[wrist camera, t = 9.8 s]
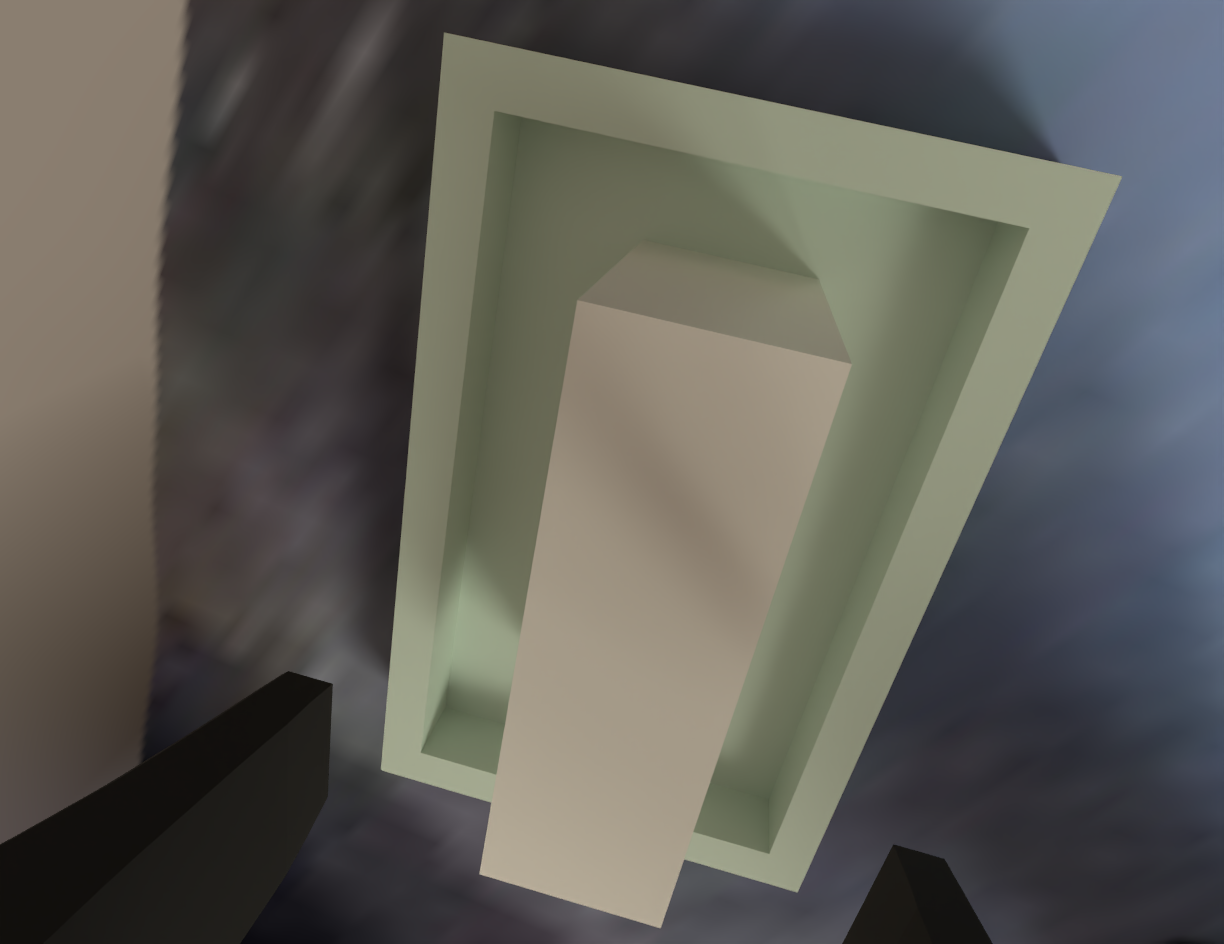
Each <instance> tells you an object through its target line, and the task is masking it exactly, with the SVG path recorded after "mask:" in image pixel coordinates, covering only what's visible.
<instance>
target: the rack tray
mask: <svg viewBox="0 0 1224 944" xmlns="http://www.w3.org/2000/svg"><path fill="white" fill-rule="evenodd" d="M1121 178H1122V176H1118V175H1113V174H1108V173H1103V172H1099V171H1094V170H1089V169H1085V168H1080V167H1075V166H1071V165H1066V164H1061V163H1056V162H1052V161H1047V160H1042V159H1038V158H1033V157H1028V156H1023V155H1019V154H1014V153H1009V152H1005V151H1000V150H995V149H990V148H986V147H981V146H976V145H972V144H967V143H962V142H958V141H953V140H948V139H943V138H939V137H934V136H929V135H925V134H920V133H915V132H910V131H906V130H901V129H896V128H892V127H887V126H882V125H877V124H873V123H868V122H863V121H859V120H854V119H849V118H845V117H840V116H835V115H830V114H826V113H821V112H816V111H812V110H807V109H802V108H797V107H793V106H788V105H783V104H779V103H774V102H769V101H764V100H760V99H755V98H750V97H746V96H741V95H736V94H732V93H727V92H722V91H717V90H713V89H708V88H703V87H699V86H694V85H689V84H684V83H680V82H675V81H670V80H666V79H661V78H656V77H651V76H647V75H642V74H637V73H633V72H628V71H623V70H619V69H614V68H609V67H604V66H600V65H595V64H590V63H586V62H581V61H576V60H571V59H567V58H562V57H557V56H553V55H548V54H543V53H538V52H534V51H529V50H524V49H520V48H515V47H510V46H506V45H501V44H496V43H491V42H487V41H482V40H477V39H473V38H468V37H463V36H458V35H454V34H449V33H444V40H443V52H442V64H441V75H440V87H439V99H438V110H437V122H436V134H435V145H434V157H433V169H432V180H431V192H430V204H429V215H428V227H427V239H426V250H425V262H424V274H423V285H422V297H421V309H420V320H419V332H418V344H417V355H416V367H415V379H414V391H413V402H412V414H411V426H410V437H409V449H408V461H407V472H406V484H405V496H404V507H403V519H402V531H401V542H400V554H399V566H398V577H397V589H396V601H395V612H394V624H393V636H392V647H391V659H390V671H389V682H388V694H387V706H386V717H385V729H384V741H383V753H382V764H381V770H382V771H386V772H389V773H393V774H396V775H399V776H403V777H406V778H410V779H413V780H416V781H420V782H423V783H427V784H430V785H433V786H437V787H440V788H444V789H447V790H450V791H454V792H457V793H461V794H464V795H467V796H471V797H474V798H478V799H481V800H485V801H488V802H491V803H492V798H493V792H494V786H495V780H496V774H497V768H498V762H499V757H500V751H501V745H502V739H503V733H504V727H505V721H506V716H507V710H508V704H509V698H510V692H511V686H512V680H513V675H514V669H515V663H516V657H517V651H518V645H519V639H520V633H521V628H522V622H523V616H524V610H525V604H526V598H527V592H528V587H529V581H530V575H531V569H532V563H533V557H534V551H535V546H536V540H537V534H538V528H539V522H540V516H541V510H542V504H543V499H544V493H545V487H546V481H547V475H548V469H549V463H550V458H551V452H552V446H553V440H554V434H555V428H556V422H557V417H558V411H559V405H560V399H561V393H562V387H563V381H564V375H565V370H566V364H567V358H568V352H569V346H570V340H571V334H572V329H573V323H574V317H575V311H576V305H577V300H578V299H579V298H580V297H581V296H582V295H583V294H585V293H586V292H587V291H588V290H589V289H590V288H591V287H592V286H593V285H594V284H595V283H596V282H598V281H599V280H600V279H601V278H602V277H603V276H604V275H605V274H606V273H607V272H608V271H610V270H611V269H612V268H613V267H614V266H615V265H616V264H617V263H618V262H619V261H620V260H622V259H623V258H624V257H625V256H626V255H627V254H628V253H629V252H630V251H631V250H632V249H633V248H635V247H636V246H637V245H638V244H639V243H640V242H641V241H642V240H647V241H651V242H656V243H660V244H664V245H669V246H673V247H678V248H682V249H687V250H691V251H695V252H700V253H704V254H709V255H713V256H718V257H722V258H727V259H731V260H735V261H740V262H744V263H749V264H753V265H758V266H762V267H767V268H771V269H775V270H780V271H784V272H789V273H793V274H798V275H802V276H806V277H811V278H815V279H819V281H820V283H821V286H822V288H823V291H824V294H825V296H826V299H827V301H828V304H829V306H830V309H831V312H832V314H833V317H834V319H835V322H836V324H837V327H838V329H839V332H840V335H841V337H842V340H843V342H844V345H845V347H846V350H847V353H848V355H849V358H850V360H851V363H852V366H851V369H850V372H849V375H848V378H847V381H846V383H845V386H844V389H843V392H842V395H841V398H840V401H839V404H838V407H837V410H836V413H835V416H834V419H833V422H832V425H831V428H830V431H829V434H828V436H827V439H826V442H825V445H824V448H823V451H822V454H821V457H820V460H819V463H818V466H817V469H816V472H815V475H814V478H813V481H812V484H811V487H810V490H809V492H808V495H807V498H806V501H805V504H804V507H803V510H802V513H801V516H800V519H799V522H798V525H797V528H796V531H795V534H794V537H793V540H792V543H791V545H790V548H789V551H788V554H787V557H786V560H785V563H784V566H783V569H782V572H781V575H780V578H779V581H778V584H777V587H776V590H775V593H774V596H773V599H772V601H771V604H770V607H769V610H768V613H767V616H766V619H765V622H764V625H763V628H762V631H761V634H760V637H759V640H758V643H757V646H756V649H755V652H754V655H753V657H752V660H751V663H750V666H749V669H748V672H747V675H746V678H745V681H744V684H743V687H742V690H741V693H740V696H739V699H738V702H737V705H736V708H735V710H734V713H733V716H732V719H731V722H730V725H729V728H728V731H727V734H726V737H725V740H724V743H723V746H722V749H721V752H720V755H719V758H718V761H717V764H716V766H715V769H714V772H713V775H712V778H711V781H710V784H709V787H708V790H707V793H706V796H705V799H704V802H703V805H702V808H701V811H700V814H699V817H698V819H697V822H696V825H695V828H694V831H693V834H692V837H691V840H690V843H689V846H688V849H687V852H686V855H685V858H684V859H685V860H689V861H692V862H696V863H699V864H702V865H706V866H709V867H713V868H716V869H719V870H723V871H726V872H730V873H733V874H736V875H740V876H743V877H747V878H750V879H753V880H757V881H760V882H764V883H767V884H771V885H774V886H777V887H781V888H784V889H788V890H791V891H794V892H798V890H799V888H800V886H801V884H802V881H803V879H804V877H805V875H806V873H807V870H808V868H809V866H810V864H811V862H812V859H813V857H814V855H815V853H816V851H817V848H818V846H819V844H820V842H821V840H822V837H823V835H824V833H825V831H826V829H827V826H828V824H829V822H830V820H831V818H832V815H833V813H834V811H835V809H836V807H837V804H838V802H839V800H840V798H841V796H842V793H843V791H844V789H845V787H846V785H847V782H848V780H849V778H850V776H851V773H852V771H853V769H854V767H855V765H856V762H857V760H858V758H859V756H860V754H861V751H862V749H863V747H864V745H865V743H866V740H867V738H868V736H869V734H870V732H871V729H872V727H873V725H874V723H875V721H876V718H877V716H878V714H879V712H880V710H881V707H882V705H883V703H884V701H885V699H886V696H887V694H888V692H889V690H890V688H891V685H892V683H893V681H894V679H895V677H896V674H897V672H898V670H899V668H900V666H901V663H902V661H903V659H904V657H905V654H906V652H907V650H908V648H909V646H910V643H911V641H912V639H913V637H914V635H915V632H916V630H917V628H918V626H919V624H920V621H921V619H922V617H923V615H924V613H925V610H926V608H927V606H928V604H929V602H930V599H931V597H932V595H933V593H934V591H935V588H936V586H937V584H938V582H939V580H940V577H941V575H942V573H943V571H944V569H945V566H946V564H947V562H948V560H949V558H950V555H951V553H952V551H953V549H954V547H955V544H956V542H957V540H958V538H959V535H960V533H961V531H962V529H963V527H964V524H965V522H966V520H967V518H968V516H969V513H970V511H971V509H972V507H973V505H974V502H975V500H976V498H977V496H978V494H979V491H980V489H981V487H982V485H983V483H984V480H985V478H986V476H987V474H988V472H989V469H990V467H991V465H992V463H993V461H994V458H995V456H996V454H997V452H998V450H999V447H1000V445H1001V443H1002V441H1003V439H1004V436H1005V434H1006V432H1007V430H1008V428H1009V425H1010V423H1011V421H1012V419H1013V416H1014V414H1015V412H1016V410H1017V408H1018V405H1019V403H1020V401H1021V399H1022V397H1023V394H1024V392H1025V390H1026V388H1027V386H1028V383H1029V381H1030V379H1031V377H1032V375H1033V372H1034V370H1035V368H1036V366H1037V364H1038V361H1039V359H1040V357H1041V355H1042V353H1043V350H1044V348H1045V346H1046V344H1047V342H1048V339H1049V337H1050V335H1051V333H1052V331H1053V328H1054V326H1055V324H1056V322H1057V320H1058V317H1059V315H1060V313H1061V311H1062V309H1063V306H1064V304H1065V302H1066V300H1067V297H1068V295H1069V293H1070V291H1071V289H1072V286H1073V284H1074V282H1075V280H1076V278H1077V275H1078V273H1079V271H1080V269H1081V267H1082V264H1083V262H1084V260H1085V258H1086V256H1087V253H1088V251H1089V249H1090V247H1091V245H1092V242H1093V240H1094V238H1095V236H1096V234H1097V231H1098V229H1099V227H1100V225H1101V223H1102V220H1103V218H1104V216H1105V214H1106V212H1107V209H1108V207H1109V205H1110V203H1111V201H1112V198H1113V196H1114V194H1115V192H1116V190H1117V187H1118V185H1119V183H1120V181H1121Z"/></svg>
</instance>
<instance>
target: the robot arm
mask: <svg viewBox="0 0 1224 944" xmlns="http://www.w3.org/2000/svg"><path fill="white" fill-rule="evenodd" d="M332 687H333V684H331V683H328V682H324V681H321V680H317V679H314V678H310V677H307V676H303V675H300V674H296V673H293V672H289V671H288V672H286V673H284V674H282V675H281V676H279V677H277V678H276V679H274V680H273V681H271V682H269V683H268V684H266V685H265V686H263V687H261V688H260V689H258V690H257V691H255V692H254V693H252V694H251V695H249V696H248V697H246V698H244V699H243V700H241V701H240V702H238V703H237V704H235V705H234V706H232V707H230V708H229V709H227V710H226V711H224V712H223V713H221V714H220V715H218V716H216V717H215V718H213V719H212V720H210V721H209V722H207V723H206V724H204V725H202V726H201V727H199V728H198V729H196V730H195V731H193V732H191V733H190V734H188V735H187V736H185V737H183V738H182V739H180V740H179V741H177V742H176V743H174V744H172V745H171V746H169V747H167V748H166V749H164V750H162V751H161V752H159V753H158V754H156V755H154V756H153V757H151V758H149V759H148V760H146V761H144V762H143V763H141V764H140V765H138V766H136V767H135V768H133V769H131V770H130V771H128V772H126V773H125V774H123V775H122V776H120V777H118V778H117V779H115V780H113V781H112V782H110V783H108V784H107V785H105V786H103V787H102V788H100V789H98V790H97V791H95V792H93V793H91V794H90V795H88V796H86V797H84V798H83V799H81V800H79V801H77V802H75V803H73V804H72V805H70V806H68V807H66V808H65V809H63V810H61V811H59V812H58V813H56V814H54V815H52V816H51V817H49V818H47V819H45V820H43V821H42V822H40V823H38V824H36V825H34V826H33V827H31V828H29V829H27V830H26V831H24V832H22V833H21V834H18V835H17V836H15V837H13V838H11V839H9V840H7V841H5V842H4V843H2V844H0V944H240V943H241V941H242V940H243V938H244V937H245V935H246V934H247V932H248V931H249V929H250V928H251V926H252V925H253V923H254V922H255V920H256V919H257V917H258V916H259V915H260V913H261V912H262V910H263V909H264V907H265V906H266V904H267V903H268V901H269V900H270V898H271V897H272V895H273V894H274V892H275V891H276V889H277V888H278V886H279V885H280V883H281V882H282V880H283V879H284V877H285V876H286V874H287V872H288V870H289V868H290V867H291V865H292V863H293V861H294V859H295V858H296V856H297V854H298V852H299V850H300V848H301V847H302V845H303V843H304V841H305V839H306V837H307V835H308V833H309V832H310V830H311V828H312V826H313V824H314V822H315V820H316V818H317V816H318V814H319V812H320V810H321V809H322V807H323V805H324V803H325V801H326V799H327V797H328V776H329V754H330V732H331V710H332ZM843 944H992V942H991V940H990V938H989V937H988V935H987V933H986V931H985V929H984V928H983V926H982V924H981V922H980V921H979V919H978V917H977V915H976V914H975V912H974V910H973V908H972V906H971V905H970V903H969V901H968V899H967V898H966V896H965V894H964V892H963V891H962V889H961V887H960V885H959V884H958V882H957V880H956V878H955V877H954V875H953V873H952V871H951V870H950V868H949V866H948V864H947V863H946V861H945V859H942V858H939V857H936V856H932V855H929V854H925V853H922V852H918V851H915V850H911V849H908V848H904V847H901V846H897V845H893V847H892V849H891V850H890V852H889V854H888V856H887V858H886V860H885V862H884V864H883V866H882V868H881V870H880V872H879V874H878V876H877V878H876V880H875V882H874V883H873V885H872V887H871V889H870V891H869V893H868V895H867V897H866V899H865V901H864V903H863V905H862V907H861V909H860V911H859V913H858V915H857V916H856V918H855V920H854V922H853V924H852V926H851V928H850V930H849V932H848V934H847V936H846V938H845V940H844V942H843Z"/></svg>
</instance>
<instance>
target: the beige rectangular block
mask: <svg viewBox="0 0 1224 944" xmlns="http://www.w3.org/2000/svg"><path fill="white" fill-rule="evenodd" d="M851 366H852V363H851V360H850V358H849V355H848V353H847V350H846V347H845V345H844V342H843V340H842V337H841V335H840V332H839V329H838V327H837V324H836V322H835V319H834V317H833V314H832V312H831V309H830V306H829V304H828V301H827V299H826V296H825V294H824V291H823V288H822V286H821V283H820V281H819V279H815V278H811V277H806V276H802V275H798V274H793V273H789V272H784V271H780V270H775V269H771V268H767V267H762V266H758V265H753V264H749V263H744V262H740V261H735V260H731V259H727V258H722V257H718V256H713V255H709V254H704V253H700V252H695V251H691V250H687V249H682V248H678V247H673V246H669V245H664V244H660V243H656V242H651V241H647V240H642V241H641V242H640V243H639V244H638V245H637V246H636V247H635V248H633V249H632V250H631V251H630V252H629V253H628V254H627V255H626V256H625V257H624V258H623V259H622V260H620V261H619V262H618V263H617V264H616V265H615V266H614V267H613V268H612V269H611V270H610V271H608V272H607V273H606V274H605V275H604V276H603V277H602V278H601V279H600V280H599V281H598V282H596V283H595V284H594V285H593V286H592V287H591V288H590V289H589V290H588V291H587V292H586V293H585V294H583V295H582V296H581V297H580V298H579V299H578V300H577V305H576V311H575V317H574V323H573V329H572V334H571V340H570V346H569V352H568V358H567V364H566V370H565V375H564V381H563V387H562V393H561V399H560V405H559V411H558V417H557V422H556V428H555V434H554V440H553V446H552V452H551V458H550V463H549V469H548V475H547V481H546V487H545V493H544V499H543V504H542V510H541V516H540V522H539V528H538V534H537V540H536V546H535V551H534V557H533V563H532V569H531V575H530V581H529V587H528V592H527V598H526V604H525V610H524V616H523V622H522V628H521V633H520V639H519V645H518V651H517V657H516V663H515V669H514V675H513V680H512V686H511V692H510V698H509V704H508V710H507V716H506V721H505V727H504V733H503V739H502V745H501V751H500V757H499V762H498V768H497V774H496V780H495V786H494V792H493V798H492V804H491V809H490V815H489V821H488V827H487V833H486V839H485V845H484V850H483V856H482V862H481V868H480V874H481V875H484V876H487V877H491V878H494V879H497V880H501V881H504V882H508V883H511V884H514V885H518V886H521V887H524V888H528V889H531V890H534V891H538V892H541V893H544V894H548V895H551V896H554V897H558V898H561V899H564V900H568V901H571V902H574V903H578V904H581V905H585V906H588V907H591V908H595V909H598V910H601V911H605V912H608V913H611V914H615V915H618V916H621V917H625V918H628V919H631V920H635V921H638V922H641V923H645V924H648V925H651V926H655V927H658V928H661V926H662V923H663V920H664V917H665V914H666V911H667V908H668V905H669V902H670V899H671V896H672V893H673V890H674V887H675V884H676V881H677V878H678V875H679V873H680V870H681V867H682V864H683V861H684V858H685V855H686V852H687V849H688V846H689V843H690V840H691V837H692V834H693V831H694V828H695V825H696V822H697V819H698V817H699V814H700V811H701V808H702V805H703V802H704V799H705V796H706V793H707V790H708V787H709V784H710V781H711V778H712V775H713V772H714V769H715V766H716V764H717V761H718V758H719V755H720V752H721V749H722V746H723V743H724V740H725V737H726V734H727V731H728V728H729V725H730V722H731V719H732V716H733V713H734V710H735V708H736V705H737V702H738V699H739V696H740V693H741V690H742V687H743V684H744V681H745V678H746V675H747V672H748V669H749V666H750V663H751V660H752V657H753V655H754V652H755V649H756V646H757V643H758V640H759V637H760V634H761V631H762V628H763V625H764V622H765V619H766V616H767V613H768V610H769V607H770V604H771V601H772V599H773V596H774V593H775V590H776V587H777V584H778V581H779V578H780V575H781V572H782V569H783V566H784V563H785V560H786V557H787V554H788V551H789V548H790V545H791V543H792V540H793V537H794V534H795V531H796V528H797V525H798V522H799V519H800V516H801V513H802V510H803V507H804V504H805V501H806V498H807V495H808V492H809V490H810V487H811V484H812V481H813V478H814V475H815V472H816V469H817V466H818V463H819V460H820V457H821V454H822V451H823V448H824V445H825V442H826V439H827V436H828V434H829V431H830V428H831V425H832V422H833V419H834V416H835V413H836V410H837V407H838V404H839V401H840V398H841V395H842V392H843V389H844V386H845V383H846V381H847V378H848V375H849V372H850V369H851Z"/></svg>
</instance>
